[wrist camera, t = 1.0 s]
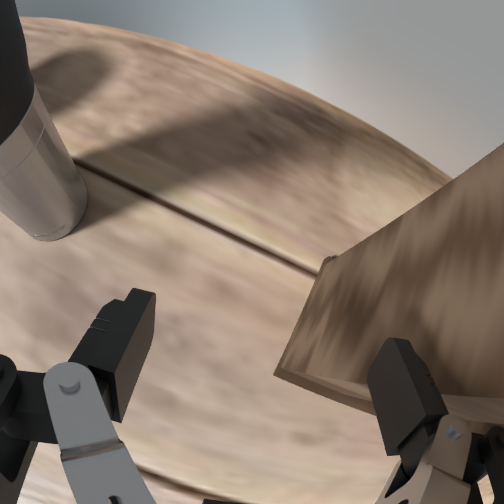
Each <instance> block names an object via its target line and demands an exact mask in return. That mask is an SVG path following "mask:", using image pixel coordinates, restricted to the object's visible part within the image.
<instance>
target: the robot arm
mask: <svg viewBox="0 0 504 504" xmlns="http://www.w3.org/2000/svg"><path fill="white" fill-rule="evenodd" d="M87 199H88V195H87V188H86V185H85V183H84V181H83V179H82V177H81V175H80V174H79V172H78V170H77V168H76V166H75V164H74V162H73V160H72V159H71V157H70V155H69V153H68V151H67V149H66V147H65V145H64V143H63V141H62V139H61V137H60V135H59V133H58V131H57V129H56V127H55V125H54V123H53V121H52V119H51V117H50V115H49V113H48V111H47V109H46V107H45V104H44V103H43V100H42V98H41V96H40V94H39V92H38V89H37V87H36V85H35V83H34V80H33V78H32V75H31V73H30V70H29V65H28V57H27V50H26V43H25V38H24V34H23V30H22V27H21V23H20V20H19V16H18V12H17V8H16V4H15V0H0V211H1V212H2V213H3V214H5V215H6V216H7V217H8V218H9V219H11V220H12V221H13V222H14V223H15V224H16V225H18V226H19V227H20V228H21V229H23V230H24V231H25V232H26V233H28V234H29V235H30V236H32V237H33V238H35V239H37V240H40V241H53V240H57V239H59V238H62V237H64V236H65V235H67V234H68V233H70V232H71V231H72V230H73V229H74V228H75V227H76V226H77V224H78V223H79V222H80V220H81V218H82V216H83V214H84V212H85V209H86V206H87ZM155 304H156V294H155V293H153V292H149V291H145V290H141V289H137V288H132V290H131V291H130V293H129V294H128V296H127V298H126V299H125V301H121V300H117V299H114V300H112V301H111V302H109V303H108V304H106V305H105V306H103V307H102V309H101V310H100V312H99V313H98V315H97V316H96V319H94V321H93V322H92V324H91V325H90V328H89V329H88V330H87V332H86V333H85V335H84V336H83V338H82V340H81V341H80V343H79V344H78V346H77V348H76V349H75V351H74V352H73V354H72V356H71V357H70V359H69V360H68V362H64V363H60V364H57V365H55V366H53V367H52V368H51V369H49V370H48V372H47V373H36V372H27V371H18V370H17V369H16V366H15V364H14V362H13V361H12V360H11V359H10V358H9V357H7V356H5V355H1V354H0V504H17V501H18V497H19V494H20V491H21V488H22V485H23V482H24V480H25V477H26V474H27V471H28V468H29V466H30V463H31V460H32V457H33V455H34V452H35V450H36V447H37V445H38V442H43V443H51V444H59V447H60V451H61V454H60V457H61V461H62V465H63V468H64V471H65V474H66V476H67V479H68V482H69V484H70V487H71V490H72V492H73V495H74V497H75V499H76V502H77V504H156V502H155V500H154V499H153V497H152V495H151V493H150V492H149V490H148V488H147V486H146V485H145V483H144V481H143V479H142V477H141V475H140V473H139V472H138V470H137V468H136V466H135V464H134V462H133V460H132V458H131V456H130V454H129V452H128V450H127V448H126V446H125V444H124V443H123V442H122V441H120V439H119V437H118V435H117V433H116V431H115V429H114V426H113V424H112V422H111V420H112V421H116V422H119V423H122V420H123V417H124V414H125V412H126V409H127V406H128V403H129V401H130V398H131V395H132V393H133V390H134V387H135V385H136V382H137V380H138V377H139V374H140V372H141V369H142V367H143V364H144V361H145V359H146V356H147V354H148V351H149V349H150V346H151V343H152V339H153V334H154V321H155ZM367 384H368V388H369V391H370V395H371V398H372V402H373V405H374V409H375V412H376V416H377V419H378V423H379V427H380V430H381V434H382V438H383V442H384V446H385V450H386V454H387V456H394V455H400V457H401V460H400V461H398V462H397V464H396V465H395V467H394V469H393V471H392V473H391V475H390V477H389V479H388V481H387V483H386V485H385V487H384V489H383V491H382V493H381V494H380V496H379V498H378V500H377V501H376V503H375V504H483V501H482V497H481V494H480V490H479V487H478V483H477V482H478V481H479V480H481V479H482V478H483V477H485V476H486V475H487V474H488V476H489V479H490V483H491V486H492V489H493V492H494V502H493V504H504V428H503V427H500V426H493V427H491V428H490V429H489V430H488V431H487V432H486V433H485V434H484V435H482V434H478V433H473V432H471V430H470V428H469V426H468V424H467V423H466V422H465V421H464V420H463V419H462V418H460V417H458V416H456V415H452V414H449V412H448V410H447V408H446V405H445V403H444V401H443V399H442V397H441V394H440V392H439V390H438V388H437V386H436V385H435V382H434V379H433V377H431V373H430V371H429V369H428V367H427V365H426V363H425V362H424V361H423V360H422V359H421V358H420V357H419V356H418V355H417V354H416V353H415V351H414V349H413V347H412V345H411V343H410V341H409V340H407V339H400V338H392V337H389V338H387V339H386V340H385V342H384V344H383V345H382V347H381V349H380V350H379V352H378V354H377V356H376V357H375V359H374V361H373V362H372V364H371V366H370V367H369V370H368V373H367ZM202 504H241V503H232V502H224V501H217V500H210V499H204V500H203V503H202Z"/></svg>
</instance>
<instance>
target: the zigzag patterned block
mask: <svg viewBox="0 0 504 504" xmlns="http://www.w3.org/2000/svg"><path fill="white" fill-rule="evenodd" d="M389 337H392V338H400V339H407V340H409V341H410V343H411V345H412V347H413V349H414V351H415V353H416V354H417V355H418V356H419V357H420V358H421V359H422V360H423V361H424V362H425V363H426V365H427V367H428V369H429V371H430V373H431V377H433V379H434V382H435V385H436V386H437V388H438V390H439V392H440V394H441V397H442V399H443V401H444V403H445V405H446V408H447V410H448V412H449V414H452V415H456V416H458V417H460V418H462V419H463V420H464V421H465V422H466V423H467V424H468V426H469V428H470V430H471V432H473V433H478V434H482V435H484V434H485V433H486V432H487V431H488V430H489V429H490V428H491V427H493V426H500V427H503V428H504V143H503V144H502V145H500V146H499V147H498V148H496V149H495V150H494V151H492V152H491V153H490V154H488V155H487V156H485V157H484V158H483V159H481V160H480V161H479V162H477V163H476V164H474V165H473V166H472V167H470V168H469V169H468V170H466V171H465V172H464V173H462V174H461V175H459V176H458V177H456V178H455V179H454V180H452V181H451V182H449V183H448V184H446V185H445V186H444V187H442V188H441V189H439V190H438V191H436V192H435V193H434V194H432V195H431V196H429V197H428V198H426V199H425V200H423V201H422V202H420V203H419V204H417V205H416V206H415V207H413V208H412V209H410V210H409V211H407V212H406V213H404V214H403V215H401V216H400V217H398V218H397V219H395V220H394V221H392V222H391V223H389V224H388V225H386V226H385V227H383V228H382V229H380V230H379V231H377V232H375V233H374V234H372V235H371V236H369V237H368V238H366V239H365V240H363V241H362V242H360V243H358V244H357V245H355V246H354V247H352V248H351V249H349V250H347V251H346V252H344V253H343V254H341V255H340V256H338V257H336V258H335V259H333V258H332V257H330V256H329V257H327V258H326V259H324V261H323V263H322V266H321V268H320V270H319V273H318V275H317V278H316V280H315V282H314V285H313V287H312V290H311V292H310V294H309V297H308V299H307V301H306V304H305V306H304V308H303V311H302V313H301V315H300V317H299V320H298V322H297V324H296V326H295V329H294V331H293V333H292V335H291V338H290V340H289V342H288V344H287V346H286V348H285V351H284V353H283V355H282V357H281V359H280V361H279V364H278V366H277V368H276V370H275V372H274V374H273V375H274V376H276V377H278V378H281V379H283V380H285V381H288V382H290V383H292V384H295V385H297V386H299V387H302V388H304V389H307V390H309V391H312V392H314V393H316V394H319V395H321V396H324V397H327V398H329V399H332V400H334V401H337V402H339V403H342V404H345V405H347V406H350V407H353V408H356V409H358V410H361V411H364V412H367V413H369V414H372V415H375V416H376V412H375V409H374V405H373V402H372V398H371V395H370V391H369V388H368V384H367V373H368V370H369V367H370V366H371V364H372V362H373V361H374V359H375V357H376V356H377V354H378V352H379V350H380V349H381V347H382V345H383V344H384V342H385V340H386V339H387V338H389Z"/></svg>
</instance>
